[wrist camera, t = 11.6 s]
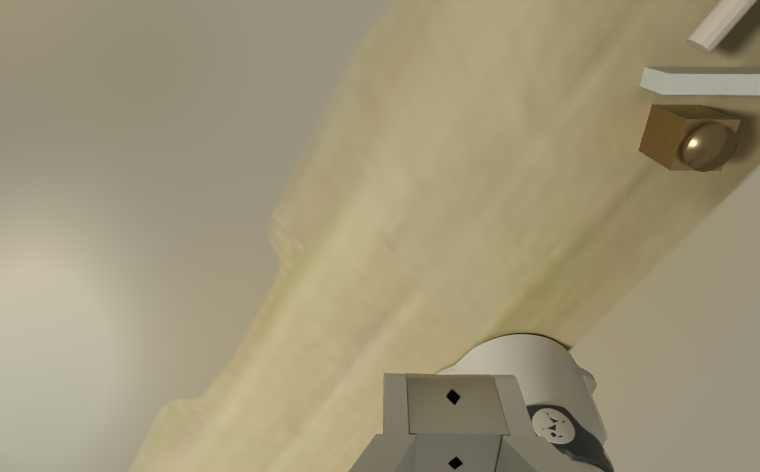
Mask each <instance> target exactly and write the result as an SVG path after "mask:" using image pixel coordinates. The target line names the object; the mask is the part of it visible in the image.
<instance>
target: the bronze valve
mask: <svg viewBox="0 0 760 472" xmlns="http://www.w3.org/2000/svg"><path fill="white" fill-rule="evenodd" d="M740 122H741V119H738V118H735V117H732V116H730V115H727V114H724V113H721V112H718V111H716V110H713V109H710V108H707V107H704V106H702V105H653V104H652V107H651V110H650V114H649V117H648V120H647V124H646V127H645V131H644V134H643V138H642V141H641V144H640V148H639V151H640V152H642V153H643V154H645V155H647V156H648V157H650V158H651V159H653V160H655V161H656V162H658V163H659V164H661V165H663V166H664V167H666V168H667V169H669V170H696V171H701V172H705V171H721V170H722V167H723V165H724V163H726V162H727V161H728V160H729V159H730V158H731V156H732V155H733V153H734V151H735V149H736V146H737V136H736V132H737V129H738V127H739V124H740Z"/></svg>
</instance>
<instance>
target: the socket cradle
mask: <svg viewBox="0 0 760 472" xmlns="http://www.w3.org/2000/svg"><path fill="white" fill-rule="evenodd" d="M640 86H641V87H644V88H646V89H649V90H652V91H654V92H657V93H660V94H662V95H760V67H645V68H644V72H643V75H642V79H641V83H640Z"/></svg>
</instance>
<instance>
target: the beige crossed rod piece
mask: <svg viewBox="0 0 760 472" xmlns="http://www.w3.org/2000/svg"><path fill="white" fill-rule="evenodd" d="M756 2H757V0H720V1H719V2H718V3H717V4H716V5H715V7H714V8H713V9H712V10H711V11H710V12H709V14H708V15H707V16H706V17H705V18H704V20H703V21H702V22H701V23H700V24H699V25H698V27H697V28H696V29H695V30H694V31H693V32H692V34H691V35H690V36H689V37H688V38H687V42H688V43H689V44H690V45H691V46H692V47H694V48H695V49H697V50H699V51H701V52H704V53H706V54H710V53H711V52H712V51H713V50H714V49H715V48H716V47H717V45H718V44H719V43H720V42H721V41H722V40H723V39H724V38H725V36H726V35H727V34H728V33H729V32H730V31H731V30H732V29H733V27H734V26H735V25H736V24H737V23H738V22H739V21H740V20H741V18H742V17H743V16H744V15H745V14H746V13H747V12H748V11H749V9H750V8H751V7H752V6H753V5H754V4H755V3H756Z"/></svg>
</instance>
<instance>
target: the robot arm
mask: <svg viewBox="0 0 760 472" xmlns="http://www.w3.org/2000/svg"><path fill="white" fill-rule="evenodd" d="M595 388H596V383H595V379H594V377H593V376H592V375H591V374H590V373H589V372H587V371H586V370H584V369H582V368H580V367H579V366H578V365H577V364H576V363H575V361H574V359H573V358H572V356H571V355H570V353H569V352H568V351H567V350H566V349H565V348H564V347H563V346H561V345H560V344H558V343H557V342H555V341H553V340H551V339H548V338H545V337H542V336H537V335H529V334H516V335H507V336H502V337H498V338H495V339H492V340H489V341H487V342H485V343H483V344H481V345H479V346H477V347H476V348H474V349H473V350H471V351H470V352H469V353H468V354H466V355H465V356H464V357H463V358H462V359H461V360H460V361H459V362H458V363H457V364H455V365H454V366H451V367H449V368H447V369H444V370H442V371H440V372H439V373H437V374H411V373H406V374H400V373H384V378H383V434H376V435H375V437H374V438H373V439H372V441H371V442H370V443H369V445H368V446H367V447H366V449H365V450H364V452H363V453H362V454H361V456H360V457H359V458H358V460H357V461H356V462H355V464H354V465H353V466H352V468H351V469H350V470H349V472H614V468H613V465H612V463H611V461H610V459H609V457H608V456H607V454H606V452H605V451H604V449H603V445H604V442H605V441H606V440H607V433H606V430H605V427H604V425H603V422H602V420H601V417H600V415H599V412H598V410H597V408H596V405H595V402H594V400H593V397H592V393H593V391H594V390H595Z"/></svg>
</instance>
